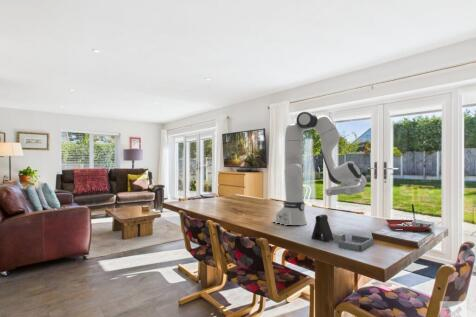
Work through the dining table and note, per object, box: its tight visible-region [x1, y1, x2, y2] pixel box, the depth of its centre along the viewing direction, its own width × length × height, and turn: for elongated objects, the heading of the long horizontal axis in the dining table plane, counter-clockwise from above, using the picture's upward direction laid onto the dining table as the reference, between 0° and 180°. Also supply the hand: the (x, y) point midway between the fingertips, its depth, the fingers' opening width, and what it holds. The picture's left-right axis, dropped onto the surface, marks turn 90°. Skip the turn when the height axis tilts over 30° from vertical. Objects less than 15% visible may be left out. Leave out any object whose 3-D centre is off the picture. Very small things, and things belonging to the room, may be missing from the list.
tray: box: [337, 234, 375, 252], centre depth 125 cm, size 10×15×2 cm
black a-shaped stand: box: [311, 213, 334, 243], centre depth 137 cm, size 9×6×12 cm, turn 38°
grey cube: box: [332, 232, 347, 244], centre depth 131 cm, size 4×4×4 cm
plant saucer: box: [385, 219, 429, 232], centre depth 155 cm, size 18×18×3 cm
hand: (336, 193), depth 148 cm, fingers open, 8 cm apart
